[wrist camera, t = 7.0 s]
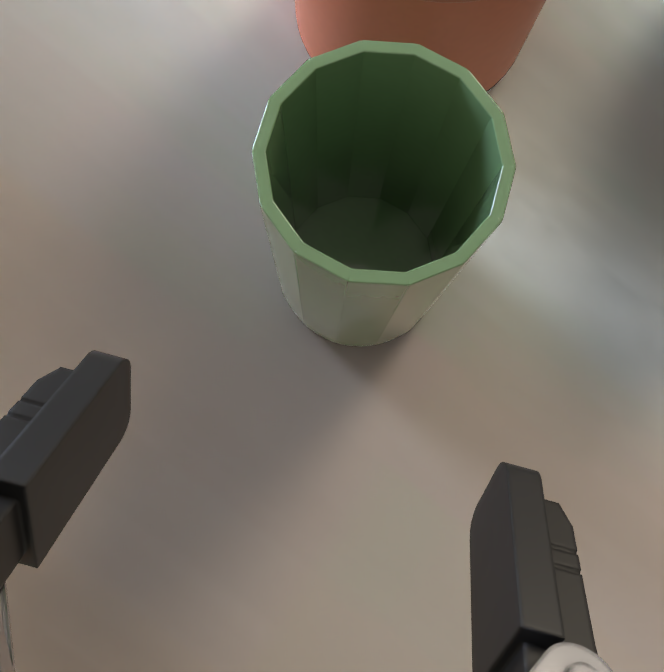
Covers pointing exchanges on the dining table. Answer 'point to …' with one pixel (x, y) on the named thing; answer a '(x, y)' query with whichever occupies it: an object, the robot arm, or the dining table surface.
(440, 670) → the dining table surface
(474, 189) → the green cup
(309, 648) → the dining table surface
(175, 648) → the dining table surface
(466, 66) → the cup stack
